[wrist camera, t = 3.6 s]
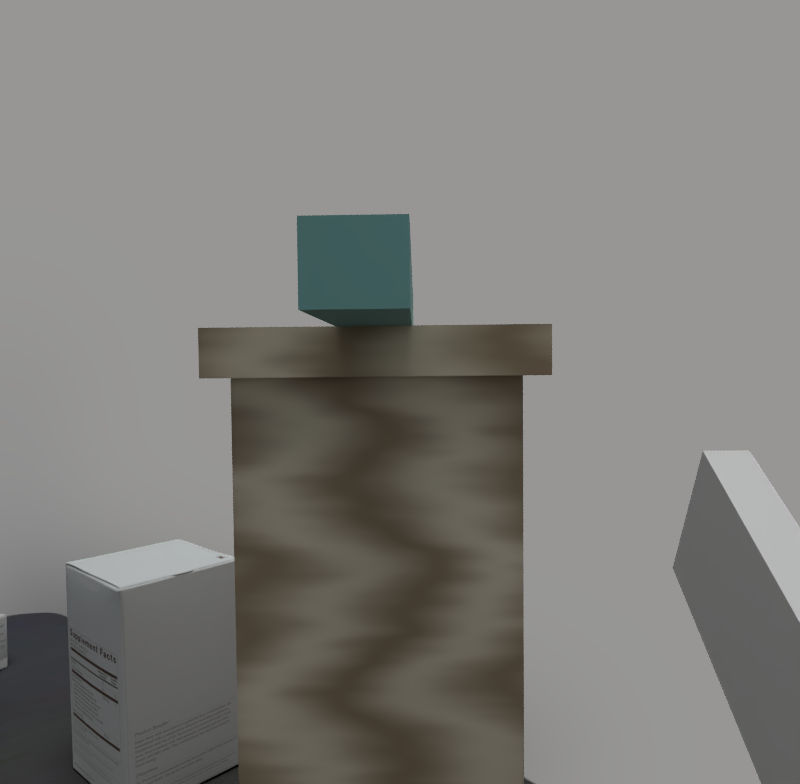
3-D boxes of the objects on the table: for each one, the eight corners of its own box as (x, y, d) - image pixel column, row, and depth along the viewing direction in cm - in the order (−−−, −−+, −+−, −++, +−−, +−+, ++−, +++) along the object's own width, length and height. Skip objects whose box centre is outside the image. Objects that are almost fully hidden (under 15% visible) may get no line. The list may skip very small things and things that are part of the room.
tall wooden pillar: (214, 1052, 29) (198, 327, 28) (285, 809, 45) (277, 340, 44) (552, 1056, 29) (551, 323, 28) (504, 810, 45) (502, 337, 44)
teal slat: (298, 309, 19) (296, 215, 19) (363, 338, 43) (363, 297, 43) (410, 308, 19) (409, 214, 19) (413, 338, 43) (412, 296, 43)
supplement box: (184, 720, 57) (179, 535, 56) (248, 762, 51) (244, 556, 50) (68, 767, 50) (61, 559, 50) (125, 823, 44) (119, 586, 44)
